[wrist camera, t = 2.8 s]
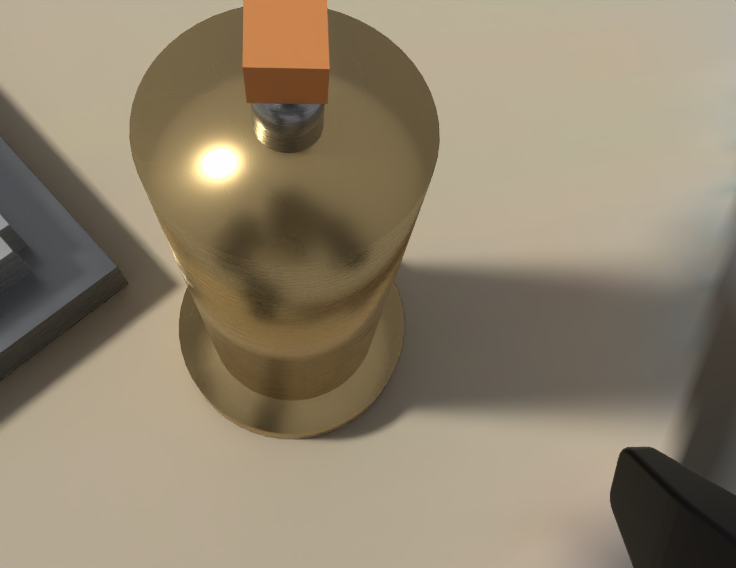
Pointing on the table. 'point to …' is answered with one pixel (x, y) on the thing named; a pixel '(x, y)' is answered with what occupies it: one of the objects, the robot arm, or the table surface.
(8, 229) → the socket plate
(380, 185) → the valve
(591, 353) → the table surface
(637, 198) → the table surface
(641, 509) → the robot arm
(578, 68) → the table surface
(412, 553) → the table surface
